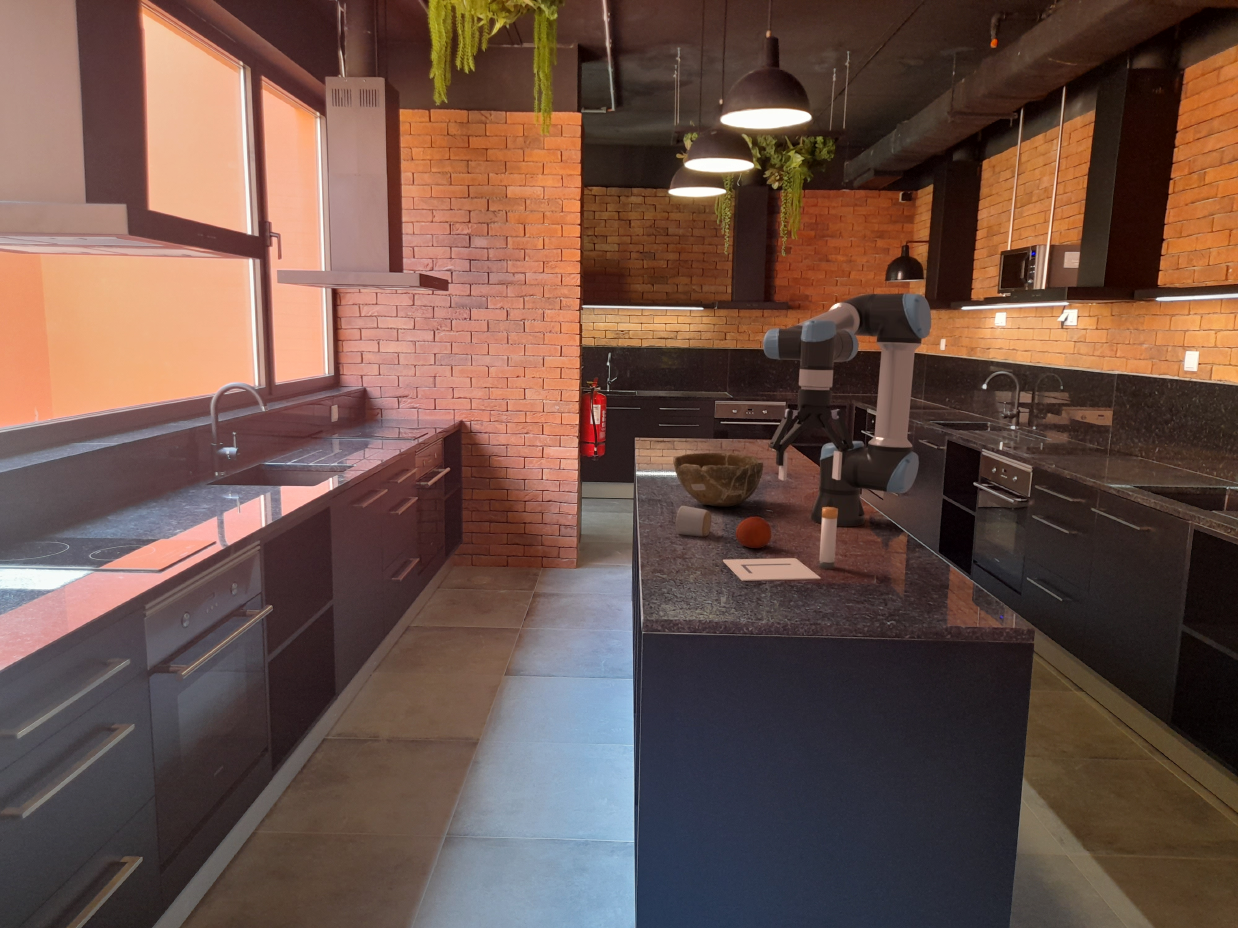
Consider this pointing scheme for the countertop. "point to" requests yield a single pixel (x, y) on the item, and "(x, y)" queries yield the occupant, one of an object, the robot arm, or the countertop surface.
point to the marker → (828, 537)
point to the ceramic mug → (693, 521)
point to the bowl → (719, 477)
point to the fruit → (753, 532)
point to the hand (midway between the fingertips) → (809, 479)
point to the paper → (770, 569)
